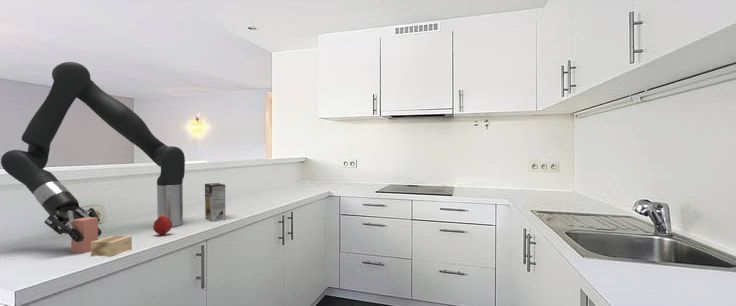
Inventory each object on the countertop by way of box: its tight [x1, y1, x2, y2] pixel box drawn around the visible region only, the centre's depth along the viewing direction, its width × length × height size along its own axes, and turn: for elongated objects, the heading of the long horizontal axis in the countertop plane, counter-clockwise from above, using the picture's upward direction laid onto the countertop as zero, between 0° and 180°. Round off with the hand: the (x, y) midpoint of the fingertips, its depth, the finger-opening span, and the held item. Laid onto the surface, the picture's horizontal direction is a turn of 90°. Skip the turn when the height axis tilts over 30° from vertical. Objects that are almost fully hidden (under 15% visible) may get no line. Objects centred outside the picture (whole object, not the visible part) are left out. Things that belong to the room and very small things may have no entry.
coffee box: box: [204, 182, 226, 222], centre depth 150 cm, size 9×6×16 cm
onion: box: [153, 214, 173, 236], centre depth 122 cm, size 6×6×8 cm
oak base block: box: [90, 235, 133, 257], centre depth 101 cm, size 7×7×4 cm
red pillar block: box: [70, 217, 99, 254], centre depth 103 cm, size 4×4×10 cm
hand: (90, 237), depth 103 cm, fingers open, 5 cm apart
